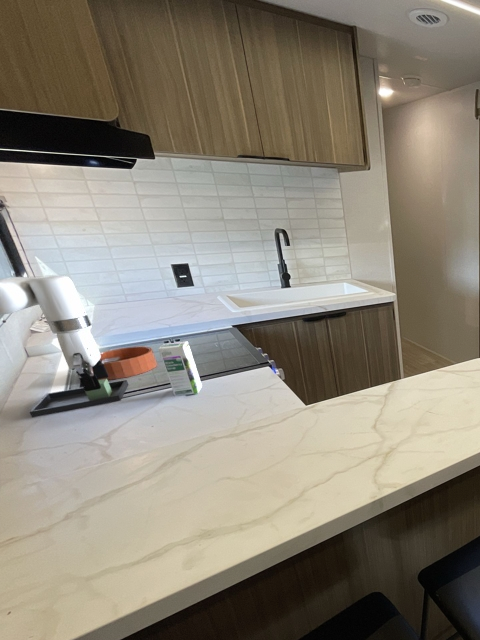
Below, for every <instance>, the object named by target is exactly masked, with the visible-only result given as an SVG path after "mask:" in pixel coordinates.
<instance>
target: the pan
mask: <svg viewBox="0 0 480 640" xmlns="http://www.w3.org/2000/svg"><path fill="white" fill-rule="evenodd" d="M108 383H109V385H110V388H111V390H112V393H111V395H110V397H104V398H99V399H93V400H89V399H88V397H87V395H86V392H85V390H84V388H83V386H82V387H77V388H71V389H66V390H65V389H64V390H61V391H54V392H47V393H45V394H44V396H42V397H41V398H40V399H39V401H38V402H37V403H36V404H35V406H33V407H32V409H30V410H29V414H30V416H31V418H36V417H42V416H47V415H52V414H53V415H54V414H58V413H63V412H67V411H73V410H79V409H84V408H88V407H94V406H100V405H105V404H110V403H114V402H120V401H122V399H123V397H124V395H125V393H126V391H127V390H128V389H127V388H128V387H129V382H128V380H127V379H124V380H118V381H113V382H108Z"/></svg>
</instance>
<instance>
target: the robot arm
mask: <svg viewBox="0 0 480 640" xmlns="http://www.w3.org/2000/svg"><path fill="white" fill-rule="evenodd" d="M38 305H39V307H40V310H41V312H42V314H43V316H44V318H45V320H46V323H47V324H48V326H49V328H50V331H51V332H52V334H56V338H57V341H58V345H59V347H60V350H61V352H62V355H63V357H64V360H65V362H66V365H67V367H68V369H69V370H71V371H73V370H75V374H77V378H78V379H79V381H80V383H81V385H82V387H83V388H84V390H85V391H91V390H97V389H100V388H101V385H100V383H99V381H98V379H101V378H107V377H108V376H109V375H108V373H107V371H106V368H105V366H104V364H103V362H102V360H101V359H100V358H101V354H100V353H101V352H100V348H99V346H98V344H97V342H96V340H95V338H94V336H93V334H92V332H91V330H90V329H91V328H93V326H92V322H91V320H90V318H89V316H88V314H87V311H86V309H85V307H84V305H83V302H82V300H81V297H80V295H79V293H78V291H77V288H76V286H75V283H74V282H73V280H72V279H71V278H70V277H69V276H67V275H46V276H40V277H39V276H38V277H27V276H11V277H6V278H2V279H0V315H10V314H13V313H17V312H20V311H22V310H25V309H28V308H31V307H34V306H38ZM87 364H88V365H87Z"/></svg>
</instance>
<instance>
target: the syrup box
mask: <svg viewBox="0 0 480 640" xmlns="http://www.w3.org/2000/svg"><path fill="white" fill-rule="evenodd" d="M158 353H159V356H160V358H161V361H162V364H163V366H164V369H165V372H166V376H167V378H168V380H169V383H170V387H171V389H172V393H173V396H174V397H177V396H184V395H186V396H190V395H198V394H199V393H200V391H201V389H202V387H203V383H202V381H201V378H200V375H199V372H198V369H197V365H196V363H195V360H194V357H193V353H192V350H191V347H190V344H189V341H188V340H186V341H178V342H169V343H168V342H167V343H163V344H161V345H160V346H159V347H158Z"/></svg>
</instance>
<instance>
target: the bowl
mask: <svg viewBox="0 0 480 640" xmlns="http://www.w3.org/2000/svg"><path fill="white" fill-rule="evenodd" d="M100 354H101V358H100V359H101V360H103V359H108V358H115V357H120V358H121V361H115V362H107V363H103V364H104V366H105V368H106V371H107V373H108V375H109V376H108V377H107V378H101V379H98V380H102V379H107V380H108V381H111V380H112V381H113V380H120V379H126V378H129V377H130V378H131V377H134V376H138V375H141V374H144V373H147V372H149V371H152V370H154V369H155V368H157V367H158V362H157V358H156V356H155V353H154V350H153V348H152V347H149V346H129V347H121V348H115V349H110V350H106V351H103V352H100ZM86 365H88V364H86Z"/></svg>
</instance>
